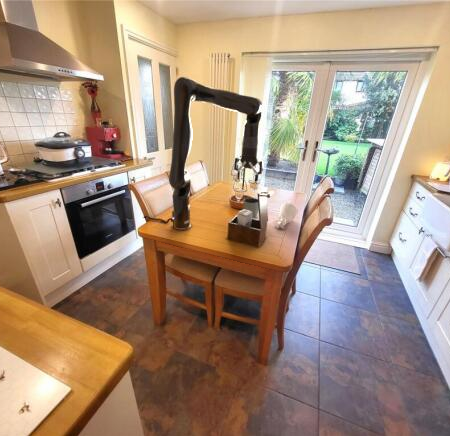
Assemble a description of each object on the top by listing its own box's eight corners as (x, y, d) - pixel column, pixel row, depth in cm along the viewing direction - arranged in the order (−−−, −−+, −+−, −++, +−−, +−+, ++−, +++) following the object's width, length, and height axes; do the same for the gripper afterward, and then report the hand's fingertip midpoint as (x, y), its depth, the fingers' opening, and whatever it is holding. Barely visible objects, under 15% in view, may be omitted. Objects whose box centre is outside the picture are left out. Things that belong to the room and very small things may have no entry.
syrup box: (241, 232, 131) (243, 208, 125) (250, 235, 128) (252, 211, 122) (235, 236, 127) (237, 211, 121) (244, 239, 124) (246, 214, 118)
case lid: (257, 193, 108) (268, 193, 106) (264, 187, 118) (275, 187, 115) (259, 229, 115) (269, 230, 112) (266, 220, 124) (276, 221, 122)
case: (227, 238, 126) (228, 222, 122) (236, 230, 135) (237, 214, 131) (258, 247, 119) (260, 230, 115) (265, 237, 129) (267, 221, 124)
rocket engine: (281, 215, 132) (291, 200, 144) (266, 222, 140) (276, 207, 152) (293, 231, 134) (301, 214, 146) (277, 237, 142) (286, 220, 154)
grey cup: (257, 221, 146) (258, 203, 141) (241, 219, 148) (242, 202, 143) (258, 215, 155) (260, 198, 150) (243, 213, 157) (244, 196, 152)
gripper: (267, 146, 108) (263, 181, 115) (239, 143, 113) (237, 176, 120) (262, 148, 102) (258, 184, 108) (232, 145, 107) (231, 180, 114)
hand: (247, 180), depth 114 cm, fingers open, 8 cm apart
